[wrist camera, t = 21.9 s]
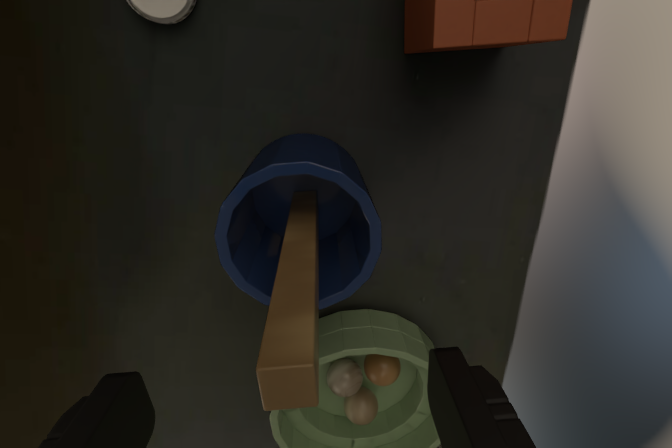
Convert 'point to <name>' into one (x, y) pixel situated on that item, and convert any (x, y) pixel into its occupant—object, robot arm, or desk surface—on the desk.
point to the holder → (482, 23)
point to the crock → (273, 210)
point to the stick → (293, 315)
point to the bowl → (393, 400)
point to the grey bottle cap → (163, 9)
